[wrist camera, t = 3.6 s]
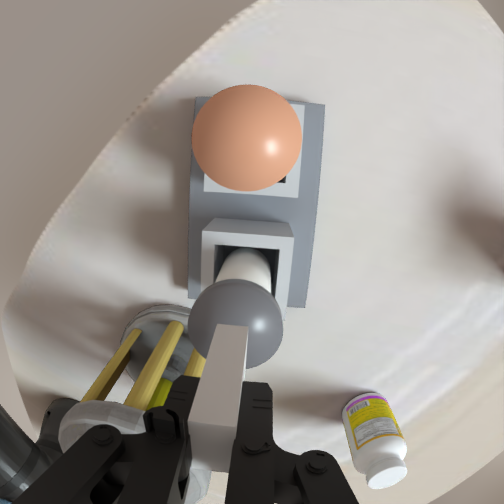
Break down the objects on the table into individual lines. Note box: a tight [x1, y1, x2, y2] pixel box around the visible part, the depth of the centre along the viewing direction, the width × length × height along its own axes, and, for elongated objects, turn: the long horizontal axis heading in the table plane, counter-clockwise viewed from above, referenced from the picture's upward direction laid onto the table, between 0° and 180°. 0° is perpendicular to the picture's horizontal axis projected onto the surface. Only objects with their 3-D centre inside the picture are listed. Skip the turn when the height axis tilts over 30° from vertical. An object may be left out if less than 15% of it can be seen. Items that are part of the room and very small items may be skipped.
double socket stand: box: [188, 97, 325, 321], centre depth 28 cm, size 12×20×8 cm, turn 176°
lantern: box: [58, 305, 212, 504], centre depth 25 cm, size 14×14×25 cm
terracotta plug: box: [192, 85, 302, 191], centre depth 19 cm, size 5×5×10 cm
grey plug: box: [187, 248, 283, 369], centre depth 22 cm, size 5×5×10 cm
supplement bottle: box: [342, 393, 407, 489], centre depth 32 cm, size 7×7×13 cm
